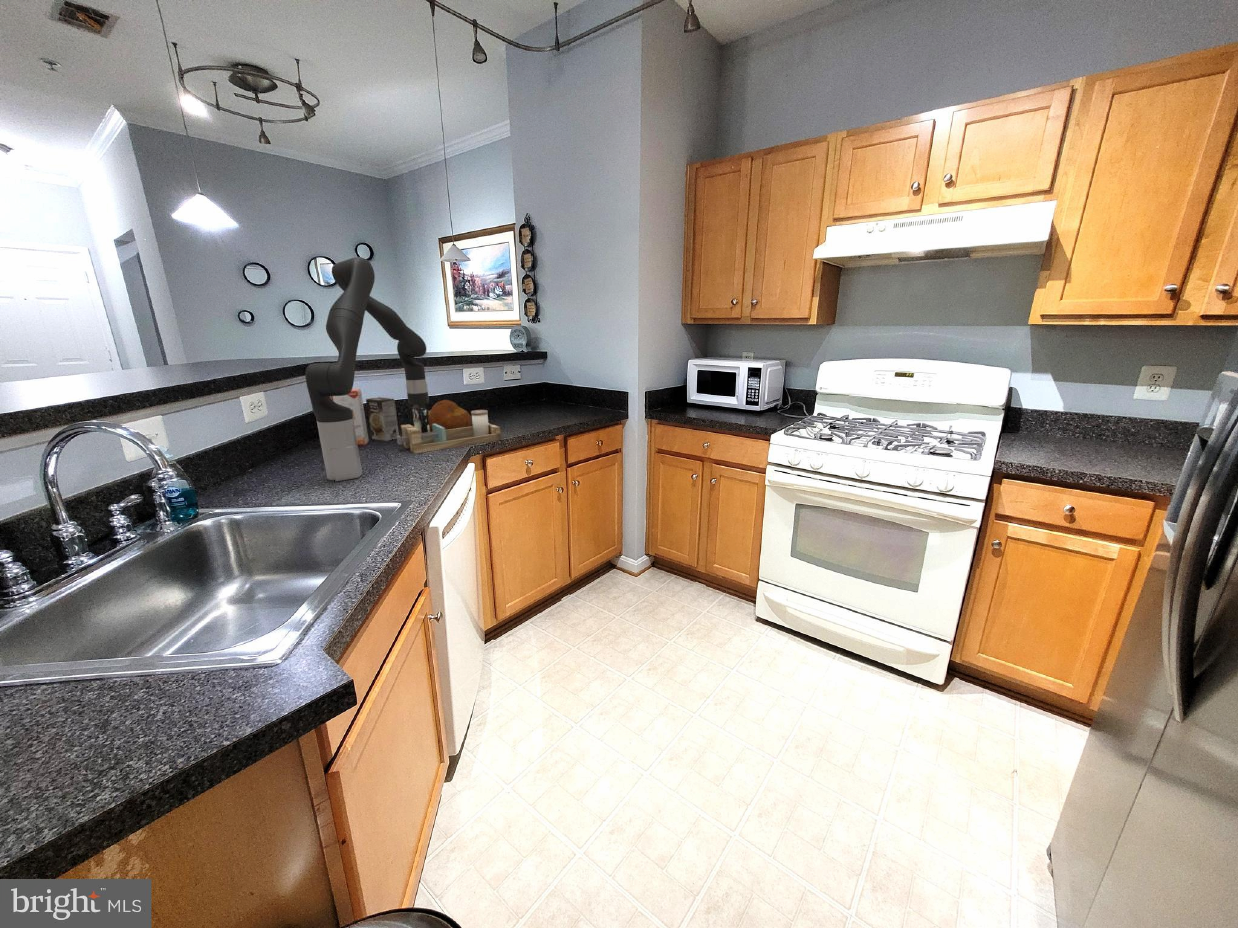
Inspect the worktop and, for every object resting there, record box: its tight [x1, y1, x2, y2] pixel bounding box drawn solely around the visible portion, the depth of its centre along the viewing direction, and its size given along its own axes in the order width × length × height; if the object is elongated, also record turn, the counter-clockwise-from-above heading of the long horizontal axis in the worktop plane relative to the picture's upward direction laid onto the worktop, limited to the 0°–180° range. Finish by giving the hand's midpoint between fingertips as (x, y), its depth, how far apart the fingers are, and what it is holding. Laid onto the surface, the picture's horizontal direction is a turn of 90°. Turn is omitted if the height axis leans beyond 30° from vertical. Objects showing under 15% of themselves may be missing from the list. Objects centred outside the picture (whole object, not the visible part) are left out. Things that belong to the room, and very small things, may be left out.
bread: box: [428, 399, 473, 432], centre depth 211 cm, size 21×33×12 cm, turn 5°
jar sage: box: [412, 418, 430, 433], centre depth 189 cm, size 6×6×9 cm
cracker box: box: [330, 388, 370, 446], centre depth 181 cm, size 14×6×21 cm, turn 105°
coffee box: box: [365, 397, 400, 442], centre depth 191 cm, size 9×6×16 cm
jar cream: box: [470, 409, 489, 437], centre depth 189 cm, size 6×6×11 cm
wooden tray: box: [400, 422, 502, 454], centre depth 183 cm, size 14×33×8 cm, turn 128°
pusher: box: [396, 424, 446, 446], centre depth 176 cm, size 11×15×7 cm
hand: (422, 434), depth 189 cm, fingers closed on jar sage, 5 cm apart
